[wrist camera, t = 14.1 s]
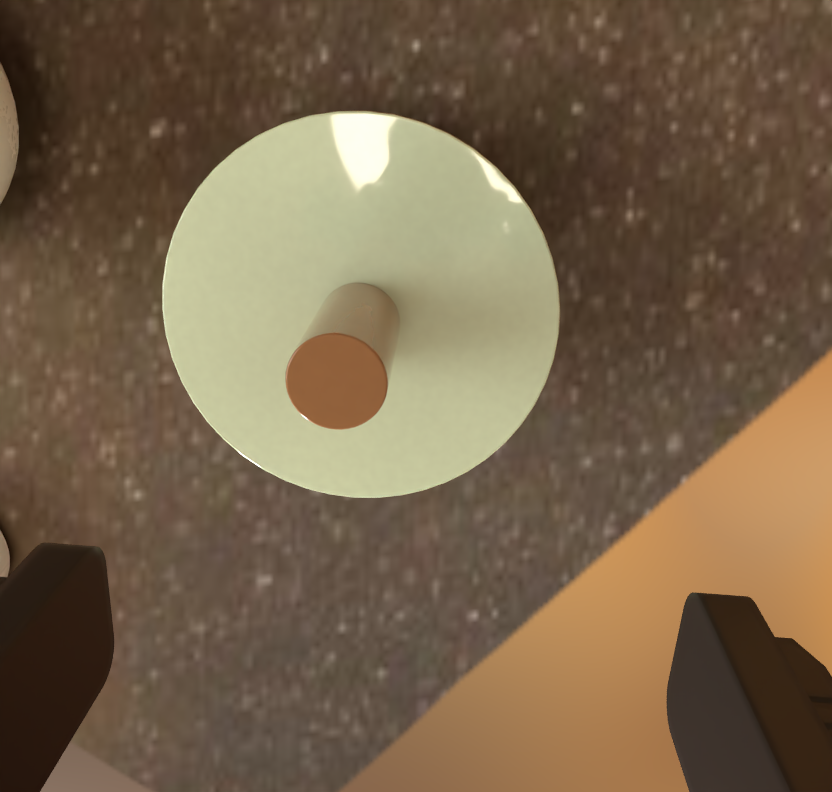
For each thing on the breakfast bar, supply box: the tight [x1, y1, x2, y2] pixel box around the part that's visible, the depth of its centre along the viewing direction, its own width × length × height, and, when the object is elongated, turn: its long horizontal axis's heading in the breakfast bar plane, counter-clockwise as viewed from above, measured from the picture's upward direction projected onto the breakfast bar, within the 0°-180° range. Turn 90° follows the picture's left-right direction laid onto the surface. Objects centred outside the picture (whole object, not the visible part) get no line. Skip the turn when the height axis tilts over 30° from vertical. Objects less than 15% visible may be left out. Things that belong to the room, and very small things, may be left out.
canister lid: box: [162, 111, 560, 498], centre depth 23 cm, size 13×13×7 cm
